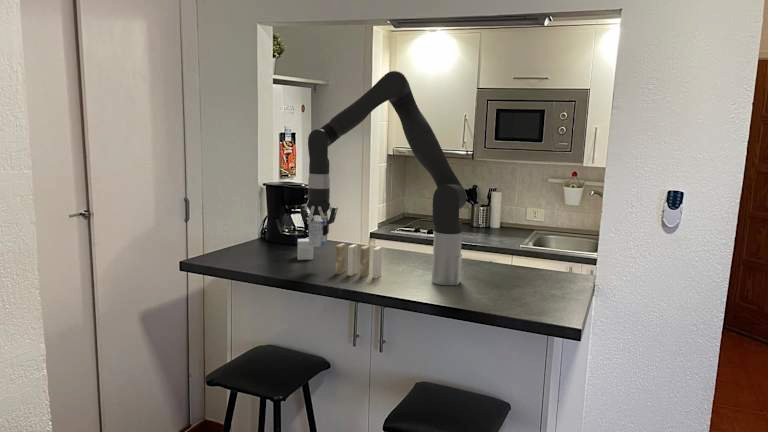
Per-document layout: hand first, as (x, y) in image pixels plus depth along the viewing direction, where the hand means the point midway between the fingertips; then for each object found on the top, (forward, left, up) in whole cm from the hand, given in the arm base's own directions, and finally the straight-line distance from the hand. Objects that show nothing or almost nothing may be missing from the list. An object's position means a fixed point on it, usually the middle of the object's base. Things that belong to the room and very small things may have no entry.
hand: (318, 234), depth 207 cm
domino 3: (-18, 0, -13) cm, 22 cm away
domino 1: (-9, 0, -13) cm, 16 cm away
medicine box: (0, 0, -4) cm, 4 cm away
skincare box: (+12, -16, -13) cm, 24 cm away
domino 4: (-22, 0, -13) cm, 26 cm away
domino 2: (-13, 0, -13) cm, 18 cm away
